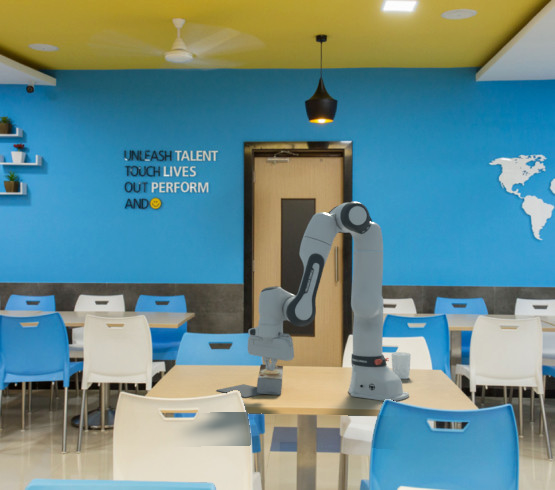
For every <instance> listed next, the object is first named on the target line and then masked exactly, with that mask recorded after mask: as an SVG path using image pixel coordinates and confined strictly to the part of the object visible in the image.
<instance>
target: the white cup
mask: <svg viewBox="0 0 555 490" xmlns="http://www.w3.org/2000/svg"><path fill="white" fill-rule="evenodd" d="M411 356H412V355H411V353H409V352H402V351H401V352H398V351H396V352H391V367H392V368H391V370H392V371H393V372H394V373H395V374H396V375H397V376H398V377H399V378H400V379H401V380H407V379H410V371H411Z"/></svg>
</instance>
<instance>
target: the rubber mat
mask: <svg viewBox="0 0 555 490" xmlns="http://www.w3.org/2000/svg"><path fill="white" fill-rule="evenodd" d="M233 390H238V391H240V393H241V396H242V397H241V398H243V399H248V398H252V397H255V396H256V397H257V396H261V395H262V394H257V386H253V385H249V384H238V385H234V386H229V387H224V388H223V387H222V388H220V389H216V392H220V393H222V394H227V393H226V392H230V391H233Z"/></svg>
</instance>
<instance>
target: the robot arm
mask: <svg viewBox="0 0 555 490" xmlns="http://www.w3.org/2000/svg"><path fill="white" fill-rule="evenodd" d="M339 233H341V234H343V233H346V234H347V233H350V235H351V237H352V240H353V254H352V255H353V261H352V263H353V264H352V280H351V281H352V282H351V297H350V298H351V299H350V300H351V301H350V307H351V310H352V311H353V326H352V327H353V328H352V353H351V361H350V362H351V363H350V364H351V377H350V383H349V388H348V393H349V394H350V396H351V397H354V398H355V397H356V398H363V399H369V400H376V401H382V402H385V401H384V400H385V399H391V400H394V401H393V402H397V401H402V400H405V399H407V398H409V397H410V395H409V394H410V393H409V392H407V391H404V389H403V383H402V379H400V378H399V377H398V376H397V375H396V374H395V373H394V372H393V371H392V368H390V367H389V366H387V362H389V359H390V358H389V357H385V355H384V354H383V330H384V325H383V324H384V297H383V276H384V275H383V274H384V241H383V232H382V228H381V226H380V225H379V224H378V223H377V222H374V221H373V219H372V217H371V215H370V212H369V209H368V208H367V207H366V206H365V205H364V204H363V203H361V202H359V201H350V202H343V203H341V204H339V205H337V206H335V207H333V208H332V209H331V210H329V212H324V211H323V212H316V213H314V215H312V217H311V219H310V220H309V222H308V224H307V227H306V228H305V230H304V234H303V237H302V239H301V242H300V247H299V254H298V255H299V257H300V259H301V261H302V265H303V274H302V278H301V281H300V284H299V288H298V292H297V294H296V295H295V294H293V293H291V292H289V291H287V290H285V289H283V288H282V287H281V286H280V285H279V286H276V285H275V286H269V287H264V288H263V289H262V290H261V291H260V293H259V297H258V314H259V320H258V322H257V323H258V326H256V327H252V328H249V329H248V335H249V336H248V338H247V352H248V355H251V356H254V357H255V356H256V357H262V359H263V362H264V365H266V370H270V371H274V370H275V365H277V363H278V360H279V361H280V360H281V361H284V362H285V361H286V362H288V361H289V362H290V361H292V360H294V358H295V350H294V343H293V338H292V336H291V335H290V334H289V333H284V328H283V327H284V321H288V322H290V323H291V324H292V325H293V326H295V327H302V328H303V327H307V326H308V325H310V324H311V323H313V321H314V319H315V317H316V313H317V312H316V309H317V307H316V298H317V294H318V291H319V290H318V289H319V286H320V283H321V280H322V279H321V278H322V275H323V273H324V272H323V271H324V268H325V265H326V262H327V260H328V258H329V256H330V252H331V249H332V247H333V243H334V241H335V240H334V239H335V237H336V236H337V234H339ZM270 361H271V362H270Z"/></svg>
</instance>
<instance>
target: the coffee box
mask: <svg viewBox="0 0 555 490" xmlns="http://www.w3.org/2000/svg"><path fill="white" fill-rule="evenodd" d="M283 369H284V365H277V364H276V365H275V370H274V371H270V370H266V365H265V364H262V363H261V364H260V367H259V372H258V377H257V384H256V387H257V394H261V395H274V396H281V395H282V388H283V375H284V374H283V371H284V370H283Z"/></svg>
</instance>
